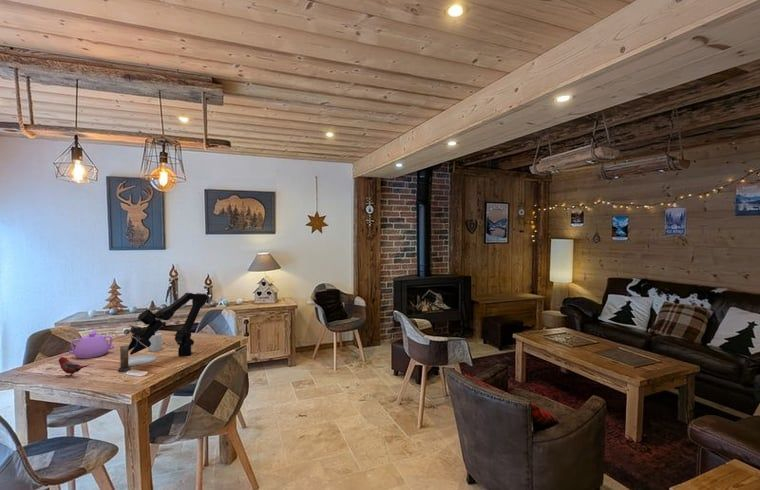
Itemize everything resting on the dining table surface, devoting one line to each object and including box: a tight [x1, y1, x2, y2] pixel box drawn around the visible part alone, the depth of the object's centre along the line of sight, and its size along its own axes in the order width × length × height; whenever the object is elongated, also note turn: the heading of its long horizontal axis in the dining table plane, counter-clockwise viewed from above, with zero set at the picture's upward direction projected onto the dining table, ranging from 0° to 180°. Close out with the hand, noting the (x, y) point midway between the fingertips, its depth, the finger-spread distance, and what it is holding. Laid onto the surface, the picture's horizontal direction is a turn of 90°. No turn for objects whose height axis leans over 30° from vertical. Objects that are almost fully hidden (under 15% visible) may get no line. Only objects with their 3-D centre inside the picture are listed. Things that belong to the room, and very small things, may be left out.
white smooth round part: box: [128, 354, 157, 367], centre depth 214 cm, size 18×18×1 cm
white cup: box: [148, 332, 163, 352], centre depth 236 cm, size 8×8×10 cm
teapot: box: [68, 328, 115, 359], centre depth 226 cm, size 22×22×14 cm
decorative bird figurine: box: [57, 356, 90, 377], centre depth 190 cm, size 3×18×10 cm, turn 84°
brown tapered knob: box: [117, 344, 132, 373], centre depth 199 cm, size 6×6×13 cm
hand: (128, 352), depth 200 cm, fingers open, 9 cm apart
